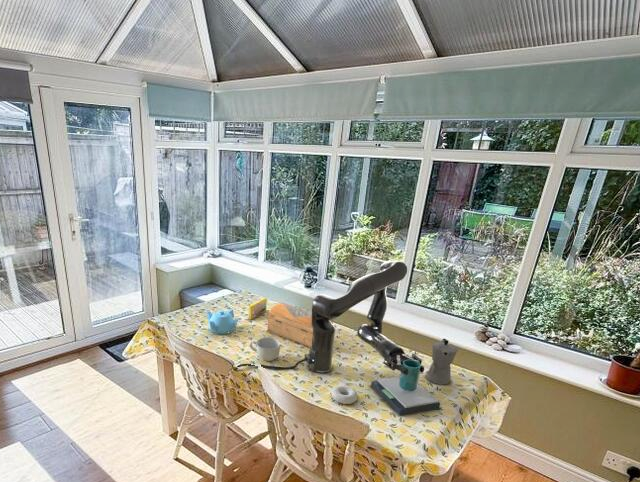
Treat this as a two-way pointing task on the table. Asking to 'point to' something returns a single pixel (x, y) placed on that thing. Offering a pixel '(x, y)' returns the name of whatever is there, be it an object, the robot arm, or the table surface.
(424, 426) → the table surface
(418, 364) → the canister
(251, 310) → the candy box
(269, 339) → the teacup
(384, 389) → the scale
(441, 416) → the table surface
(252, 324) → the table surface
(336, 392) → the donut
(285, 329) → the wooden box
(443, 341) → the coffeepot
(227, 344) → the table surface
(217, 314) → the teapot
